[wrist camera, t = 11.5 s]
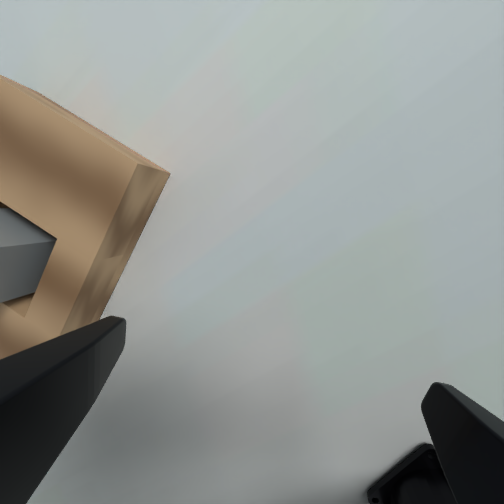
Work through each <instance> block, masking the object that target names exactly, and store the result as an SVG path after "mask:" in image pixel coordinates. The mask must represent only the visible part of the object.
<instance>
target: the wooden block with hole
mask: <svg viewBox="0 0 504 504" xmlns="http://www.w3.org/2000/svg"><path fill="white" fill-rule="evenodd" d="M169 175H170V173H169V172H167V171H166V170H164V169H162V168H161V167H159V166H158V165H156V164H154V163H153V162H151V161H149V160H148V159H146V158H144V157H143V156H141V155H140V154H138V153H136V152H135V151H133V150H131V149H130V148H128V147H126V146H125V145H123V144H122V143H120V142H118V141H117V140H115V139H113V138H112V137H110V136H109V135H107V134H105V133H104V132H102V131H100V130H99V129H97V128H95V127H94V126H92V125H91V124H89V123H87V122H86V121H84V120H82V119H81V118H79V117H77V116H76V115H74V114H73V113H71V112H69V111H68V110H66V109H64V108H63V107H61V106H60V105H58V104H56V103H55V102H53V101H51V100H50V99H48V98H46V97H45V96H43V95H42V94H40V93H38V92H36V91H34V90H32V89H30V88H28V87H25V86H23V85H21V84H19V83H17V82H15V81H12V80H10V79H8V78H6V77H4V76H2V75H0V208H11V209H13V210H14V211H16V212H17V213H19V214H20V215H22V216H23V217H25V218H27V219H28V220H30V221H31V222H33V223H34V224H36V225H37V226H39V227H40V228H42V229H43V230H45V231H46V232H48V233H49V234H51V235H53V236H54V237H56V238H57V240H56V243H55V245H54V248H53V250H52V253H51V255H50V257H49V260H48V262H47V265H46V267H45V270H44V272H43V274H42V277H41V279H40V282H39V284H38V287H37V289H36V291H35V292H34V293H31V294H28V295H24V296H21V297H18V298H14V299H11V300H8V301H5V302H1V303H0V359H2V358H5V357H8V356H10V355H13V354H15V353H18V352H20V351H23V350H25V349H28V348H30V347H33V346H35V345H38V344H40V343H43V342H45V341H48V340H50V339H53V338H55V337H58V336H60V335H63V334H66V333H68V332H71V331H73V330H76V329H78V328H81V327H83V326H86V325H88V324H91V323H93V322H96V321H98V320H99V319H100V317H101V315H102V313H103V311H104V309H105V307H106V304H107V302H108V300H109V298H110V296H111V294H112V292H113V290H114V288H115V286H116V284H117V282H118V280H119V278H120V276H121V274H122V272H123V270H124V268H125V266H126V263H127V261H128V259H129V257H130V255H131V253H132V251H133V249H134V247H135V245H136V243H137V241H138V239H139V237H140V235H141V233H142V231H143V229H144V227H145V225H146V222H147V220H148V218H149V216H150V214H151V212H152V210H153V208H154V206H155V204H156V202H157V200H158V198H159V196H160V194H161V192H162V190H163V188H164V186H165V184H166V181H167V179H168V177H169Z"/></svg>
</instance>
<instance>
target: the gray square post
mask: <svg viewBox="0 0 504 504" xmlns="http://www.w3.org/2000/svg"><path fill="white" fill-rule="evenodd" d="M56 240H57V238H56V237H54V236H53V235H51V234H49V233H48V232H46V231H45V230H43V229H42V228H40V227H39V226H37V225H36V224H34V223H33V222H31V221H30V220H28V219H27V218H25V217H23V216H22V215H20V214H19V213H17V212H16V211H14V210H13V209H11V208H0V303H1V302H5V301H8V300H11V299H14V298H18V297H21V296H24V295H28V294H31V293H34V292H35V291H36V289H37V287H38V284H39V282H40V279H41V277H42V274H43V272H44V270H45V267H46V265H47V262H48V260H49V257H50V255H51V253H52V250H53V248H54V245H55V243H56Z"/></svg>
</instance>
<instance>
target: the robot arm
mask: <svg viewBox="0 0 504 504" xmlns="http://www.w3.org/2000/svg"><path fill="white" fill-rule="evenodd" d="M125 336H126V320H125V319H124V318H121V317H116V316H109V317H106V318H103V319H101V320H98V321H96V322H93V323H91V324H88V325H86V326H83V327H81V328H78V329H76V330H73V331H71V332H68V333H66V334H63V335H60V336H58V337H55V338H53V339H50V340H48V341H45V342H43V343H40V344H38V345H35V346H33V347H30V348H28V349H25V350H23V351H20V352H18V353H15V354H13V355H10V356H8V357H5V358H2V359H0V504H26V503H27V502H28V500H29V499H30V497H31V496H32V494H33V493H34V491H35V490H36V488H37V487H38V485H39V484H40V482H41V481H42V479H43V478H44V476H45V475H46V474H47V472H48V471H49V469H50V468H51V466H52V465H53V463H54V462H55V460H56V459H57V457H58V456H59V454H60V453H61V451H62V450H63V448H64V447H65V445H66V444H67V443H68V441H69V440H70V438H71V437H72V435H73V434H74V432H75V431H76V429H77V428H78V426H79V425H80V423H81V422H82V420H83V419H84V417H85V416H86V415H87V413H88V412H89V410H90V408H91V407H92V405H93V404H94V402H95V400H96V399H97V397H98V395H99V393H100V392H101V390H102V388H103V386H104V384H105V382H106V380H107V379H108V377H109V375H110V373H111V371H112V369H113V368H114V366H115V364H116V362H117V360H118V358H119V356H120V355H121V353H122V351H123V349H124V345H125ZM421 410H422V414H423V417H424V419H425V422H426V425H427V428H428V431H429V433H430V436H431V439H432V442H433V445H432V444H425V445H423V446H422V447H421V448H420V449H418V450H417V451H416V452H415V453H413V454H412V455H411V456H410V457H409V458H407V459H406V460H405V461H404V462H402V463H401V464H400V465H399V466H398V467H396V468H395V469H394V470H393V471H392V472H390V473H389V474H388V475H387V476H385V477H384V478H383V479H382V480H381V481H379V482H378V483H377V484H376V485H374V486H373V487H372V488H371V489H370V490H368V492H367V497H368V501H369V503H370V504H504V422H503V421H502V420H501V419H499V418H498V417H496V416H495V415H493V414H492V413H490V412H489V411H488V410H486V409H485V408H483V407H482V406H480V405H479V404H477V403H476V402H475V401H473V400H472V399H470V398H469V397H467V396H466V395H464V394H463V393H462V392H460V391H459V390H457V389H456V388H454V387H453V386H451V385H449V384H444V383H439V382H434V383H433V384H432V385H431V386H430V388H429V390H428V392H427V393H426V395H425V397H424V399H423V401H422V403H421ZM429 452H432V453H429ZM374 497H376V498H374Z"/></svg>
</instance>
